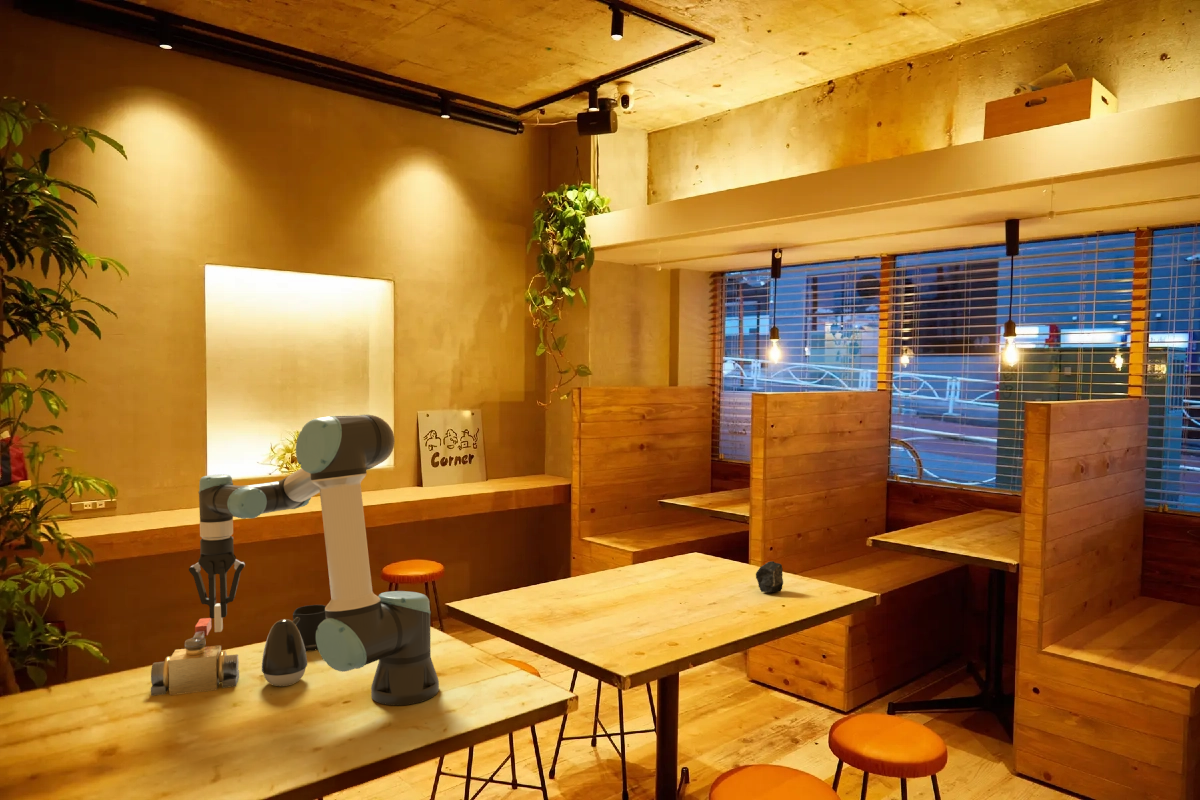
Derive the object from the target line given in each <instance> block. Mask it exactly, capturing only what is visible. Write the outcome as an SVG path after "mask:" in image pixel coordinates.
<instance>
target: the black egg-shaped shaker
mask: <svg viewBox="0 0 1200 800" xmlns="http://www.w3.org/2000/svg"><path fill="white" fill-rule="evenodd" d="M299 620H300V618H299V617H296V618H295V619H294V620H293V619H292V620H291V619H287V618H283V619H280V620H277V621H276V622H275V623H274V624H273V625H272V626H271V628H270V630H269V633H268V635H267V638H266V641H265V644H264V648H263V653H262V658H261V672H262V674H263V677H264V678H265V680H266V681H267V682H268V684H270V685H272V686H275V687H288V686H291V685H294V684H296V683H297V682H299V681H300V680H301V679H302V678H303V676H304V674H305V671H306V668H307V667H308V656H307V651H306V650H305V646H304V642H303V639H302V636H301V634H300V632H299V629H298V628H297V626H296V624H297V623H298V622H299Z"/></svg>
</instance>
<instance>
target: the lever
mask: <svg viewBox="0 0 1200 800" xmlns="http://www.w3.org/2000/svg"><path fill="white" fill-rule="evenodd" d="M211 629H212V618H210V617H203V618H199V619H198V622H197V623H196V624H195V626H194V635H193V637H191V638H187V639H186V640H185V641H184V649H188V650H193V649H199V648H203V647H207V646H206V639H207V638H206V637H208V635H209V633H210V631H211ZM205 636H206V637H205Z"/></svg>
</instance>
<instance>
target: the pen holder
mask: <svg viewBox="0 0 1200 800" xmlns="http://www.w3.org/2000/svg"><path fill="white" fill-rule="evenodd" d="M326 606H327V605H324V604H310V605H303V606H300V607H297V608H295V609H294V611H293V613H292V621H293V620H294V619H295V618H296V617H299V618H300V620H299V622H298V623H297V624H296V626H297V628H298V629H299V632H300V634H301V636H302V639H303V642H304V646H305V650H306V652H311V651H317V650H318V648H317V644H316V631H317V629H318V626H319V624H320V623H321V622H322V621H323V620H325V619H326V614H325V607H326Z"/></svg>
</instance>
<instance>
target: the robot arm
mask: <svg viewBox="0 0 1200 800" xmlns="http://www.w3.org/2000/svg"><path fill="white" fill-rule="evenodd" d="M394 435H395V434H394V432H393V429H392V427H391V426H390V425H389V424H388V423H387V422H386V421H385V420H384V419H383V418H381V417H379V416H376V415H372V414H359V415H358V414H357V415H355V414H354V415H330V416H329V415H327V416H324V417H323V416H321V417H318V418H317V417H316V418H313V419H311V420H309V421H307V422H306V423H305V424H304V425H303V426H302V429H301V431H299V434H298V436H297V439H296V443H295V444H296V445H295V455H296V461H297V463H298V464H299V465H300V469H298V470H295V471H294V472H292V473H291V474H289V475H288V476H286V477H285V478H282V479H280V480H277V481H276V480H275V481H270V482H269V481H268V482H262V483H255V484H254V483H253V484H248V485H234V483H233V477H232V476H231V475H229V474H209V475H204V476H202V477H200V479H199V485H198V486H199V487H198V488H199V491H198V501H199V502H198V503H199V504H198V505H199V506H198V507H199V537H200V538H201V539H200V540H199V544H200V545H199V547H200V554H199V555H200V556H199V558H198V562H196V563H195V564H192V565H191V566H190V567H189V568H188V572H189V573H190V574H191V576H192V577H193V579H194V580H193V581H194V583H195V586H196V590H197V593H198V596H199V599H200V604H202V605H207V606H208V608H209V610H208V611H209V618H211V619H213V620H214V633H221V632H223V629H224V623H223V619H224V618H226V617H227V615H228V604H229V603H233V601H234V600H235V598H236V593H237V589H238V586H239V582H240V577H241V572H242V571H243V569H244V568H245V567H246V563H245V561H240V560H239V559H237V556H236V555H235V553H234V551H235V549H234V536H232V535H233V534H234V517H235V518H238V519H256V518H258V517H259V516H260V515H261V514H262V515H263V514H269V513H273V512H280V511H288V510H296V509H299V508H302V507H305V506H307V505H308V504H309V503H310V501H311V499H312V497H314V496H316V495H318V494H319V496H320V497H319V498H320V505H321V514H322V522H323V523H322V524H323V534H324V542H325V543H324V544H325V552H326V562H327V569H328V571H327V572H328V578H329V579H328V581H329V589H330V598H331V599H330V600H329V602H328V603H327V604H326V605H325V606H326V607H325V614H326V619H325V620H323V621H322V622H321V623H320V624H319V626H318V629H317V631H316V644H317V648H318V651H317V652H318V653H319V654H320V656H321V659H322V660H323V661H324V662H325V663H326V664H327V666H329V667H330V668H331V669H333V670H335V671H337V672H341V673H342V672H349V671H352V670H355V669H361V668H363V667H365V666H366V665H369V664H371V663H374V662H377V661H378V664H377V666H376V669H375V673H374V676H373V679H372V683H371V688H370V689H371V690H370V691H371V692H370V693H371V695H370V696H371V699H372V700H373V701H374V702H376V703H379V704H381V705H387V706H408V705H414V704H418V703H422V702H425V701H427V700H430V699H432V698H434V696H436V695H437V694H438V693H439V691H440V690H439V689H440V688H439V687H440V686H439V682H440V681H439V677H438V674H437V671H436V668H435V666H434V663H433V660H432V657H431V613H432V611H431V608H430V599H429V598H428V596H427V595H425V594H424V593H420V592H416V591H405V590H395V591H385V592H381V593H379V594H378V595H377V594H375V593H374V591H373V586H372V585H373V584H372V575H371V574H372V573H371V568H370V567H371V566H370V558H369V557H370V555H369V550H368V539H367V530H366V521H365V513H364V511H365V510H364V504H363V503H364V502H363V494H362V492H363V491H362V485H361V483H362V481H363V480H364V479H365V477H366V476H367V471H368V470H370V469H373V468H374V467H376V466H378V465H380V464H382V463H384V462H385V461H386V460H387V459H388V458H389V457H390V456H391V455H392V453H393V450H394V448H395V441H396V440H395V436H394ZM233 565H234V566H233ZM231 567H233V568H234V570H235V571H234V573H233V577H232V583H231V586H230V591H229V595H228V586H227V585H228V583H227V581H228V578H227V577H228V576H227V574H228V571H229V570H230V569H231ZM201 568H202V569H203V570H204V571H205V573H207V575H208V576H207V578H208V594H207V591H206V586H205V584H204V583H205V582H204V581H203V577H202V574H201V570H202V569H201ZM216 575H219V597H220V598H219V599H220V600H219V601H220V603H219V602H217V593H216V591H217V590H216V589H217V588H216V586H217V585H216V582H217V581H216Z"/></svg>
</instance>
